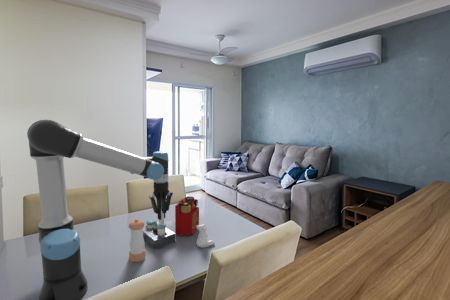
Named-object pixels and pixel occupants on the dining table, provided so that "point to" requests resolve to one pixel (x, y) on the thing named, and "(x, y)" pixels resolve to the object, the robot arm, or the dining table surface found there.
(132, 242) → the salt shaker
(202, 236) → the sitting furry creature
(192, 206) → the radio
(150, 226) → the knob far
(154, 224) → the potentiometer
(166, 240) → the mount
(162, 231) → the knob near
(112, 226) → the dining table surface
